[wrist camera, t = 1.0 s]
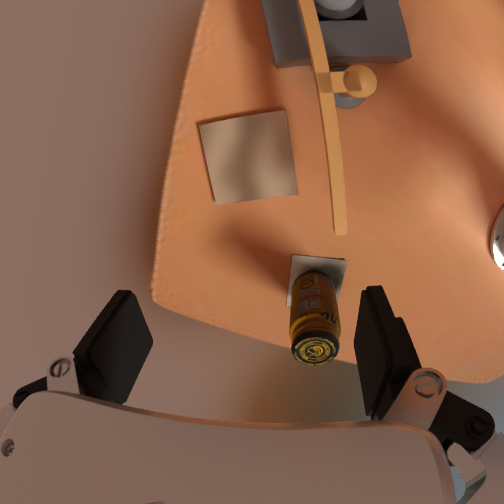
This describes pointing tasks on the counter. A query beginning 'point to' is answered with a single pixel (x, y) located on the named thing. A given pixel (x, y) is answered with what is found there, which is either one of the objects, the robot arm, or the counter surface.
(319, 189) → the counter surface
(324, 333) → the condiment
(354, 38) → the socket block
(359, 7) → the plug
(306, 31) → the knobbed wooden stick
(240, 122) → the pad
